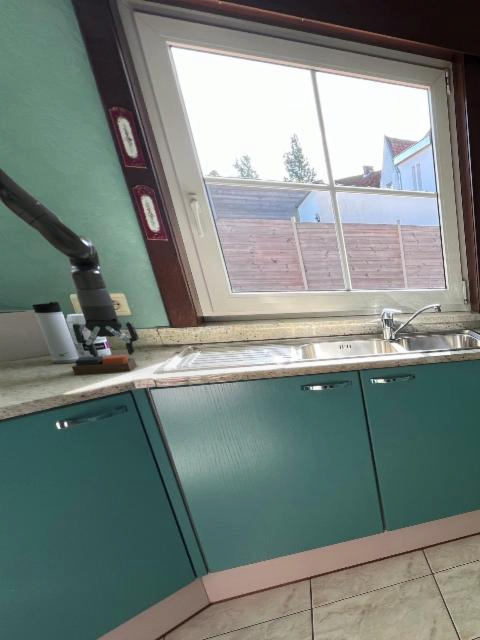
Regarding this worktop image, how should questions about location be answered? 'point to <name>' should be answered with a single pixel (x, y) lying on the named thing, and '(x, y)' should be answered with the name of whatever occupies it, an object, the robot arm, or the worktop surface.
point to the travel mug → (56, 332)
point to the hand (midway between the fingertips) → (114, 355)
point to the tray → (104, 368)
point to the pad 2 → (115, 359)
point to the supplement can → (82, 349)
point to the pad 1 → (89, 361)
